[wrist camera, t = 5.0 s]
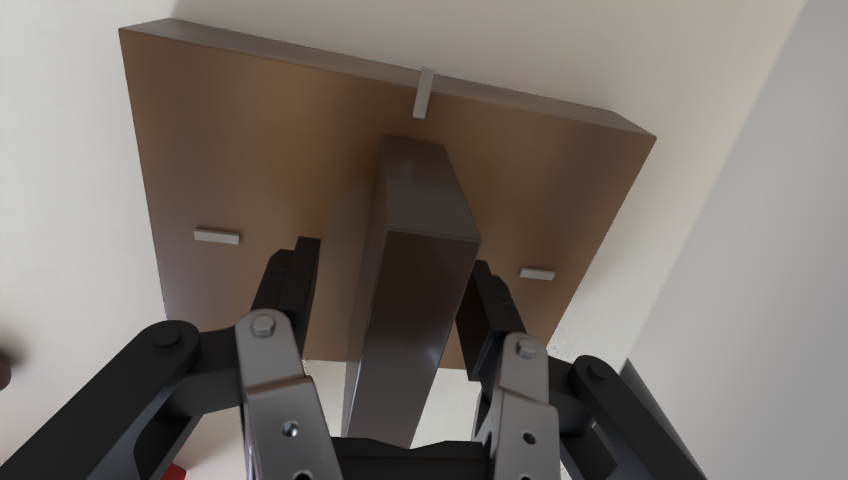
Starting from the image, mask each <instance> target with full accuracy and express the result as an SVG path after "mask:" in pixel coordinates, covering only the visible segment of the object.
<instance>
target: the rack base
mask: <svg viewBox="0 0 848 480" xmlns="http://www.w3.org/2000/svg"><path fill="white" fill-rule="evenodd" d="M118 32H119V38H120V44H121V50H122V56H123V62H124V68H125V74H126V80H127V86H128V92H129V98H130V104H131V110H132V116H133V122H134V127H135V133H136V139H137V145H138V151H139V157H140V163H141V169H142V175H143V181H144V187H145V193H146V199H147V205H148V211H149V217H150V223H151V229H152V235H153V241H154V247H155V253H156V259H157V265H158V271H159V277H160V283H161V289H162V295H163V301H164V306H165V312H166V318H167V320H182V321H187V322H190V323H191V324H193V325H194V326H196V327H197V329H198V330H199V333H201V332H208V331H214V330H220V329H225V328H228V327H231V326H233V325H235V324H236V323H237V321H238V320H239V319H240V318H241V317H242V316H243V315H244V314H246V313H248V312H249V311H250V309H251V306H252V303H253V301H254V298H255V296H256V293H257V290H258V288H259V285H260V282H261V280H262V278H263V274H264V272H265V270H266V266H267V264H268V261H269V258H270V257H271V256H272V255H273V254H274V253H276V252H277V251H278V250H279V249H287V250H295V246H296V243H297V240H298V237H299V236H303V237H311V238H318V239H321V245H320V255H319V264H318V274H317V282H316V288H315V294H314V299H313V304H312V310H311V315H310V320H309V325H308V330H307V335H306V341H305V346H304V351H303V356H302V359H307V360H322V361H338V362H346V361H347V348H348V338H349V332H350V326H351V320H352V314H353V308H354V302H355V296H356V290H357V284H358V278H359V272H360V266H361V260H362V254H363V248H364V242H365V236H366V230H367V224H368V218H369V212H370V206H371V200H372V194H373V188H374V182H375V176H376V170H377V164H378V158H379V152H380V146H381V140H382V136H383V135H388V136H393V137H399V138H404V139H410V140H416V141H421V142H427V143H432V144H438V145H443V146H445V148H446V151H447V153H448V156H449V158H450V161H451V163H452V166H453V168H454V171H455V173H456V176H457V178H458V181H459V183H460V186H461V188H462V191H463V193H464V196H465V198H466V201H467V204H468V206H469V209H470V211H471V214H472V216H473V219H474V221H475V224H476V226H477V229H478V231H479V234H480V236H481V239H482V243H481V246H480V249H479V252H478V255H477V258H476V259H478V260H485V261H487V263H488V266H489V268H490V271H491V274H492V275H497V276H499V277H500V278H501V279H502V280H503V281H504V283H505V284H506V285H507V286H508V288H509V291H510V293H511V298H513V300H514V303H515V306H516V307H517V310H518V312H519V315H520V317H521V319H522V322H523V324H524V326H525V329H526V331H527V334H529V335H531V336H533V337H535V338H536V339H538V340H539V341H540V342H541V343H542V344H543V345H544V347H545V348H546V346H547V344H548V342H549V341H550V339H551V337H552V335H553V333H554V331H555V329H556V327H557V326H558V324H559V322H560V320H561V318H562V316H563V314H564V312H565V310H566V309H567V307H568V305H569V303H570V301H571V299H572V297H573V295H574V294H575V292H576V290H577V288H578V286H579V284H580V282H581V280H582V279H583V277H584V275H585V273H586V271H587V269H588V267H589V265H590V264H591V262H592V260H593V258H594V256H595V254H596V252H597V250H598V248H599V247H600V245H601V243H602V241H603V239H604V237H605V235H606V233H607V232H608V230H609V228H610V226H611V224H612V222H613V220H614V218H615V217H616V215H617V213H618V211H619V209H620V207H621V205H622V203H623V202H624V200H625V198H626V196H627V194H628V192H629V190H630V188H631V187H632V185H633V183H634V181H635V179H636V177H637V175H638V173H639V171H640V170H641V168H642V166H643V164H644V162H645V160H646V158H647V156H648V155H649V153H650V151H651V149H652V147H653V145H654V143H655V141H656V140H657V137H656V136H655V135H653V134H651V133H649V132H648V131H646V130H644V129H643V128H641V127H639V126H637V125H636V124H634V123H632V122H630V121H629V120H627V119H625V118H624V117H622V116H620V115H618V114H617V113H615V112H612V111H607V110H603V109H598V108H593V107H589V106H584V105H579V104H574V103H570V102H565V101H560V100H555V99H551V98H546V97H541V96H536V95H532V94H527V93H522V92H518V91H513V90H508V89H503V88H499V87H494V86H489V85H484V84H480V83H475V82H470V81H465V80H461V79H456V78H451V77H447V76H442V75H437V74H434V72H435V70H434V69H429V68H425V67H422V70H421V71H418V70H413V69H409V68H404V67H399V66H394V65H390V64H385V63H380V62H376V61H371V60H366V59H361V58H357V57H352V56H347V55H342V54H338V53H333V52H328V51H323V50H319V49H314V48H309V47H305V46H300V45H295V44H290V43H286V42H281V41H276V40H271V39H267V38H262V37H257V36H252V35H248V34H243V33H238V32H234V31H229V30H224V29H219V28H215V27H210V26H205V25H200V24H196V23H191V22H186V21H181V20H177V19H172V18H166V19H161V20H156V21H151V22H147V23H142V24H137V25H132V26H127V27H122V28H119V29H118ZM438 368H448V369H463V370H466V367H465V362H464V358H463V353H462V349H461V345H460V340H459V336H458V331H457V327H456V323H455V320H454V323H453V326H452V329H451V332H450V335H449V338H448V340H447V343H446V346H445V349H444V352H443V355H442V358H441V360H440V363H439V366H438Z"/></svg>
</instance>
